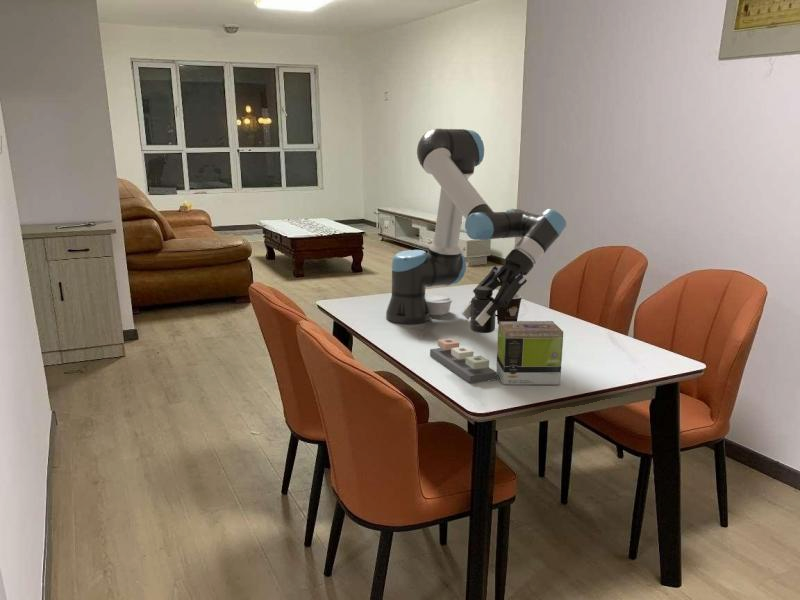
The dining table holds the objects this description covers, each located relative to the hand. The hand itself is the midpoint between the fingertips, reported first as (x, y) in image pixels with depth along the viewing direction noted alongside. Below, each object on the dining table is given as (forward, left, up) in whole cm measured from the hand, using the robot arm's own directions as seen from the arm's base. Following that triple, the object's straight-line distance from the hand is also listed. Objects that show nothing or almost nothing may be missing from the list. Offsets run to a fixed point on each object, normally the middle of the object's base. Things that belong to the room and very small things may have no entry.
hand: (471, 319), depth 174 cm
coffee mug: (-32, +31, -13) cm, 47 cm away
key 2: (+9, -3, -10) cm, 14 cm away
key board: (+1, -3, -13) cm, 13 cm away
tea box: (+15, +9, -13) cm, 22 cm away
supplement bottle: (0, +4, -4) cm, 5 cm away
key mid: (+1, -3, -10) cm, 10 cm away
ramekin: (-53, +16, -13) cm, 57 cm away
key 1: (-7, -3, -10) cm, 13 cm away
